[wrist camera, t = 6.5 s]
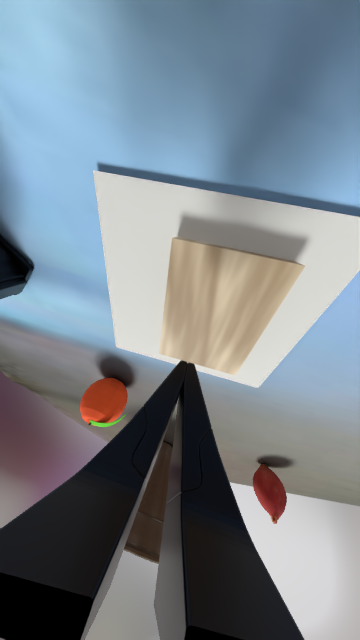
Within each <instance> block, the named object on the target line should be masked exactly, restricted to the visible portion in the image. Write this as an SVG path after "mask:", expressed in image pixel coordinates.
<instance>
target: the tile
mask: <svg viewBox="0 0 360 640" xmlns="http://www.w3.org/2000/svg"><path fill="white" fill-rule="evenodd" d="M304 267H305V265H302V264H300V263H298V262H295V261H291V260H286V259H282V258H277V257H272V256H267V255H262V254H257V253H253V252H248V251H243V250H238V249H233V248H229V247H224V246H219V245H214V244H209V243H205V242H200V241H195V240H190V239H185V238H180V237H174V238H172V242H171V251H170V260H169V269H168V278H167V287H166V295H165V304H164V313H163V322H162V331H161V340H160V349H159V354H161V355H165V356H168V357H172V358H176V359H179V360H183V361H186V362H190V363H193V364H197V365H200V366H204V367H207V368H211V369H214V370H218V371H221V372H225V373H228V374H232V375H236V374H237V372H238V371H239V369H240V367H241V366H242V364H243V363H244V361H245V360H246V358H247V356H248V355H249V353H250V352H251V350H252V349H253V347H254V346H255V344H256V342H257V341H258V339H259V338H260V336H261V335H262V333H263V331H264V330H265V328H266V327H267V325H268V324H269V322H270V321H271V319H272V317H273V316H274V314H275V313H276V311H277V310H278V308H279V306H280V305H281V303H282V302H283V300H284V299H285V297H286V296H287V294H288V292H289V291H290V289H291V288H292V286H293V285H294V283H295V281H296V280H297V278H298V277H299V275H300V274H301V272H302V271H303V269H304Z"/></svg>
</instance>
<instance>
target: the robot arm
mask: <svg viewBox="0 0 360 640" xmlns="http://www.w3.org/2000/svg"><path fill="white" fill-rule="evenodd" d="M32 271H33V267H32V266H31V265H30V264H29V263H28V262H27V261H26V260H25V259H24V258H23V257H22V256H21V255H20V254H19V253H18V252H17V251H16V250H15V249H14V248H13V247H12V246H11V245H9V244H8V243H7V242H6V241H5V240H4V239H3V238H2V237H1V236H0V299H2V298H5V297H8V296H11V295H17V294H19V293H21V292H22V290H23V288H24V287H25V285H26V283H27V280H28V278H29V276H30V275H31V273H32ZM178 398H179V399H178ZM177 401H178V407H177V415H176V424H175V432H174V441H173V449H172V457H171V466H170V474H169V482H168V491H167V499H166V507H165V516H164V524H163V532H162V541H161V549H160V558H159V566H158V574H157V583H156V591H155V600H154V608H155V613H156V619H157V625H158V630H159V636H160V640H304V638H303V636H302V634H301V632H300V631H299V629H298V627H297V625H296V623H295V621H294V619H293V617H292V616H291V614H290V612H289V610H288V608H287V606H286V604H285V602H284V601H283V599H282V597H281V595H280V593H279V591H278V590H277V588H276V586H275V584H274V582H273V580H272V578H271V576H270V574H269V573H268V571H267V569H266V567H265V565H264V563H263V561H262V560H261V558H260V556H259V554H258V552H257V550H256V548H255V546H254V544H253V542H252V540H251V537H250V535H249V533H248V531H247V529H246V526H245V523H244V521H243V518H242V516H241V513H240V510H239V508H238V505H237V502H236V499H235V496H234V494H233V491H232V489H231V486H230V483H229V480H228V477H227V475H226V472H225V469H224V466H223V463H222V460H221V457H220V455H219V451H218V448H217V445H216V441H215V438H214V434H213V430H212V429H211V423H210V420H209V416H208V412H207V408H206V405H205V401H204V397H203V394H202V390H201V386H200V382H199V379H198V375H197V371H196V368H195V364H193V363H190V362H188V363H187V362H186V361H183V360H181V361H180V362H179V363H178V364H177V366H176V367H175V368H174V369H173V370H172V372H171V373H170V374H169V375H168V376H167V378H166V379H165V380H164V381H163V382H162V384H161V385H160V386H159V387H158V389H157V390H156V391H155V392H154V393H153V395H152V396H151V397H150V398H149V399H148V401H147V402H146V403H145V404H144V407H142V408H141V409H140V410H139V411H138V413H137V414H136V415H135V416H134V417H133V418H132V420H131V421H130V422H129V423H128V424H127V425H126V426H125V427H124V428H123V429H122V430H121V431H120V432H119V433H118V434H117V435H116V436H115V437H114V438H113V439H112V440H111V441H110V442H109V443H108V444H107V445H106V446H105V447H104V448H103V449H102V450H101V451H100V452H99V453H98V454H97V455H96V456H95V457H94V458H93V459H92V460H91V461H90V462H88V463H87V465H85V466H84V467H83V468H82V469H81V470H80V471H79V472H78V473H76V474H75V475H74V476H73V477H71V478H70V479H69V480H67V481H66V482H64V483H63V484H62V485H60V486H59V487H58V488H56V489H55V490H53V491H52V492H51V493H49V494H48V495H47V496H45V497H44V498H43V499H41V500H40V501H38V502H37V503H36V504H34V505H33V506H31V507H30V508H29V509H27V510H26V511H25V512H23V513H22V514H20V515H19V516H18V517H17V518H15V519H14V520H12V521H11V522H9V523H8V524H7V525H5V526H4V527H2V528H0V640H85V637H86V635H87V633H88V631H89V629H90V627H91V625H92V623H93V621H94V619H95V617H96V615H97V613H98V610H99V608H100V606H101V604H102V602H103V600H104V598H105V596H106V594H107V592H108V590H109V588H110V585H111V582H112V580H113V577H114V574H115V571H116V569H117V566H118V563H119V560H120V557H121V555H122V552H123V549H124V547H125V544H126V541H127V538H128V536H129V533H130V530H131V527H132V525H133V522H134V519H135V516H136V514H137V511H138V508H139V505H140V503H141V500H142V497H143V494H144V492H145V489H146V486H147V483H148V481H149V478H150V475H151V472H152V470H153V467H154V464H155V461H156V459H157V456H158V453H159V450H160V448H161V445H162V442H163V439H164V437H165V434H166V431H167V428H168V426H169V423H170V420H171V417H172V415H173V412H174V409H175V406H176V404H177Z"/></svg>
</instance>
